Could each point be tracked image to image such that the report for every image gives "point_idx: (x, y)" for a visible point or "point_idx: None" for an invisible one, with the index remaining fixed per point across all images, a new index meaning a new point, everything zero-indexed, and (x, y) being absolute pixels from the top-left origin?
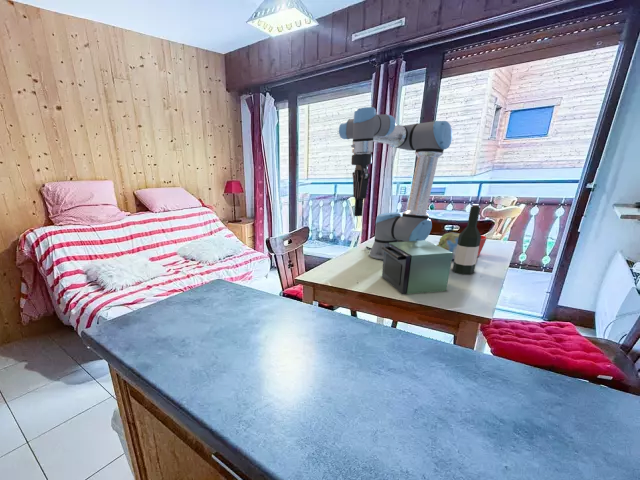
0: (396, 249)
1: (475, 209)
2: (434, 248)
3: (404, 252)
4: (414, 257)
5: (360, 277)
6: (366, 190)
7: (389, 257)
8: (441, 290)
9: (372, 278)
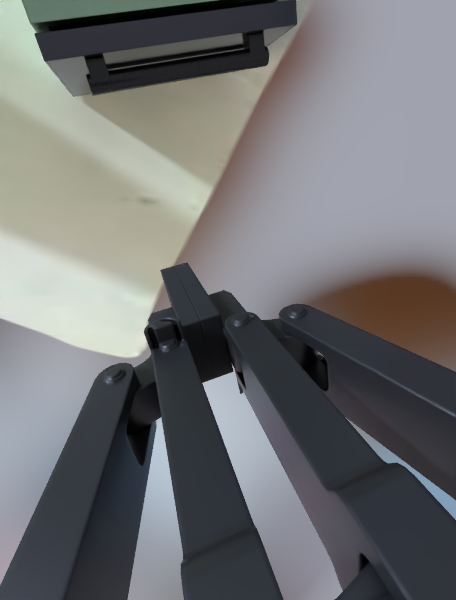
0: (183, 31)
1: None
2: None
3: (225, 1)
4: None
5: (91, 184)
6: (379, 341)
7: (132, 66)
8: None
9: (95, 140)
